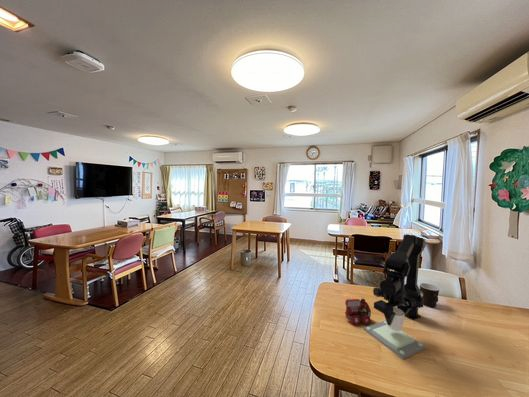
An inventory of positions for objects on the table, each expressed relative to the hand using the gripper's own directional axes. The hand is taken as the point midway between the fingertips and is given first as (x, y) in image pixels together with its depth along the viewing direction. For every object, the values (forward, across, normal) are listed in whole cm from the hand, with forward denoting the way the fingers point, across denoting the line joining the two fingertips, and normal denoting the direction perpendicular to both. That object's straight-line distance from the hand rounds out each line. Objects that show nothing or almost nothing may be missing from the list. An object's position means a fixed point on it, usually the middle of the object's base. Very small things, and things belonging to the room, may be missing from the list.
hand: (394, 323), depth 92 cm
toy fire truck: (+7, +4, -15) cm, 17 cm away
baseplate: (+7, 0, 0) cm, 7 cm away
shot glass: (+2, 0, 0) cm, 2 cm away
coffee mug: (+7, -42, -10) cm, 44 cm away
